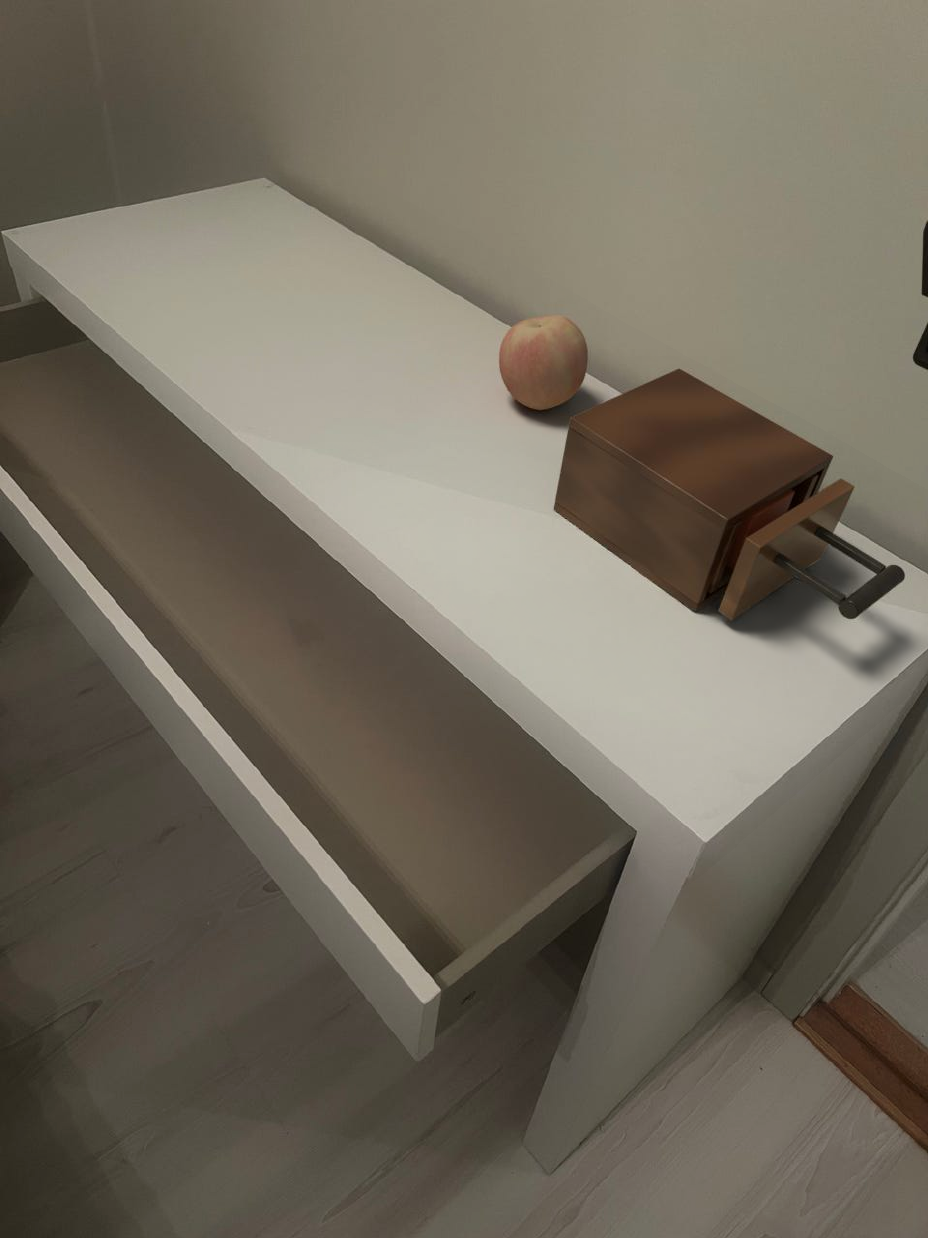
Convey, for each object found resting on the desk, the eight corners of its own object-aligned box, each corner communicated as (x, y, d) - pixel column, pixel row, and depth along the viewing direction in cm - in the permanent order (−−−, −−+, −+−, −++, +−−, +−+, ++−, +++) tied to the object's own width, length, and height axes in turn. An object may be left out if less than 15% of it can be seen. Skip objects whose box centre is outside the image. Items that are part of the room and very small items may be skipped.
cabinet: (795, 545, 73) (834, 455, 67) (694, 613, 67) (727, 520, 61) (655, 456, 81) (679, 367, 75) (552, 509, 74) (569, 416, 68)
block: (773, 544, 70) (795, 491, 67) (733, 570, 68) (753, 517, 64) (721, 510, 73) (739, 457, 69) (680, 534, 70) (697, 480, 66)
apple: (559, 375, 89) (572, 295, 83) (594, 418, 84) (611, 337, 78) (482, 385, 87) (490, 304, 81) (514, 430, 82) (525, 347, 76)
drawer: (899, 607, 68) (940, 535, 63) (811, 678, 62) (848, 605, 57) (685, 471, 78) (707, 400, 73) (592, 521, 72) (609, 448, 67)
